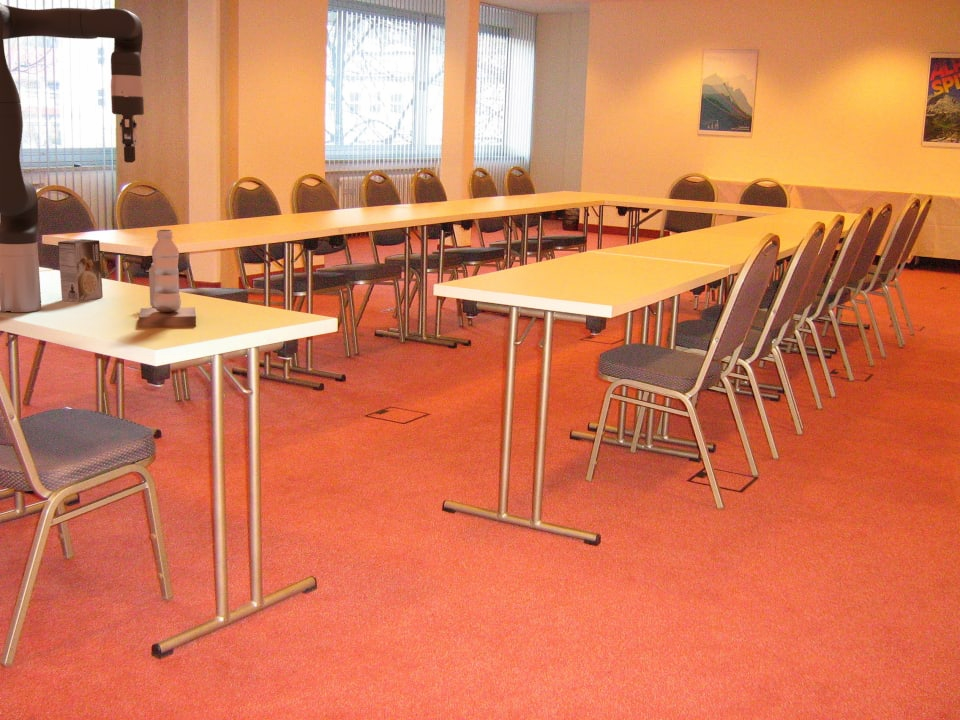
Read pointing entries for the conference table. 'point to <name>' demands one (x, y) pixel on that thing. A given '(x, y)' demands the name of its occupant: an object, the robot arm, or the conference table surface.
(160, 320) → the walnut block
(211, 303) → the conference table surface
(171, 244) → the plastic bottle
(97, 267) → the coffee box
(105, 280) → the conference table surface
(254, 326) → the conference table surface
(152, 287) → the can
